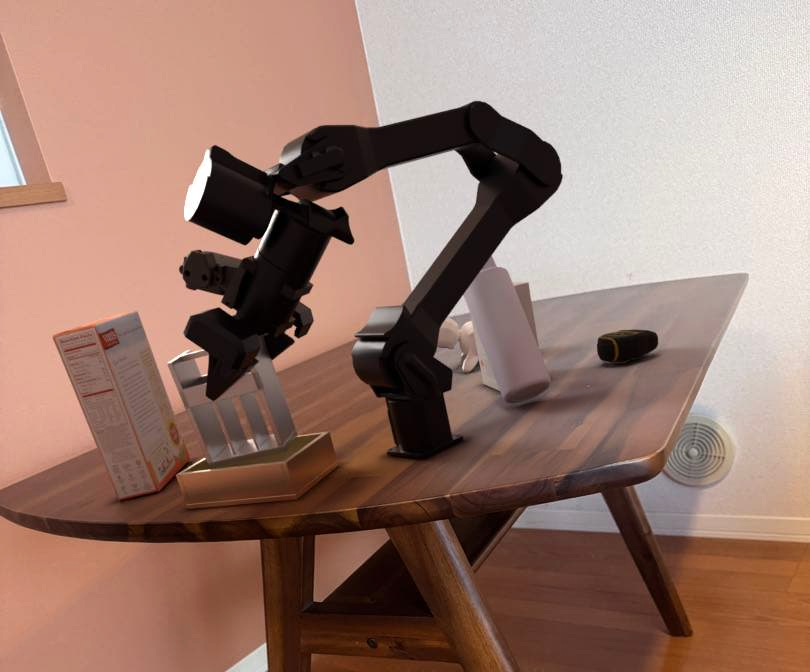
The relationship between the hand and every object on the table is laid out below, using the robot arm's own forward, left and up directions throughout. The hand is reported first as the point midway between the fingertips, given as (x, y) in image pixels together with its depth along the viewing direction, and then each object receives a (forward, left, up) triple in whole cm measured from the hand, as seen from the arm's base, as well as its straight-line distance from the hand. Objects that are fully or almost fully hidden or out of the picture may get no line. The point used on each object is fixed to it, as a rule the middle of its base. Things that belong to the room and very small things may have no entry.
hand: (223, 391), depth 83 cm
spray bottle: (-15, -31, -10) cm, 36 cm away
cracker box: (+21, +3, -11) cm, 24 cm away
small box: (-3, -41, -11) cm, 42 cm away
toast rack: (-1, -1, -7) cm, 7 cm away
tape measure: (-14, -52, -11) cm, 55 cm away
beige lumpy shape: (+13, -51, -11) cm, 54 cm away
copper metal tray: (-1, -1, -11) cm, 11 cm away
